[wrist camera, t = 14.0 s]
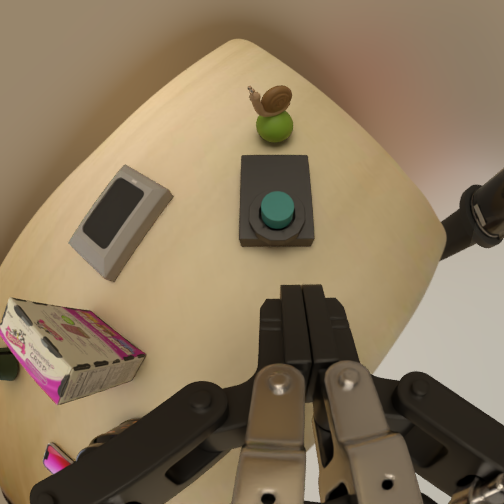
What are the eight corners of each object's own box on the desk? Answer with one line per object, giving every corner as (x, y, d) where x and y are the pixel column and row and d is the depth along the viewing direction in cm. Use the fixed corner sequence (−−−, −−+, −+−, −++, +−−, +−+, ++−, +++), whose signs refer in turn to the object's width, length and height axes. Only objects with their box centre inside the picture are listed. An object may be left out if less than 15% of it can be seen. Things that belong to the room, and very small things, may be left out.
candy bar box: (77, 337, 34) (-5, 332, 19) (90, 309, 35) (8, 292, 20) (133, 383, 33) (55, 408, 17) (148, 354, 34) (71, 366, 18)
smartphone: (106, 517, 25) (41, 463, 27) (108, 515, 26) (44, 462, 28) (117, 499, 26) (48, 441, 28) (120, 496, 27) (51, 439, 29)
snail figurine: (245, 134, 42) (238, 77, 30) (279, 118, 42) (281, 62, 31) (263, 157, 40) (261, 101, 29) (298, 140, 41) (306, 84, 29)
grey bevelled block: (63, 240, 35) (121, 159, 38) (77, 247, 38) (131, 171, 41) (100, 277, 33) (165, 184, 36) (113, 282, 36) (173, 196, 39)
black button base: (311, 252, 36) (317, 240, 31) (241, 252, 37) (237, 240, 32) (305, 167, 39) (309, 147, 35) (243, 167, 40) (240, 147, 35)
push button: (293, 229, 32) (295, 221, 30) (261, 229, 32) (261, 221, 30) (291, 200, 33) (293, 191, 31) (261, 200, 33) (260, 191, 31)
